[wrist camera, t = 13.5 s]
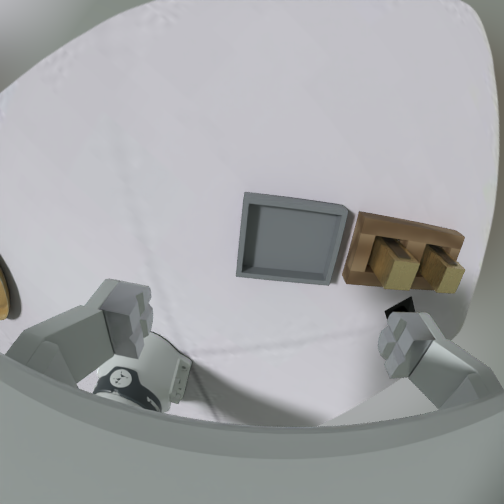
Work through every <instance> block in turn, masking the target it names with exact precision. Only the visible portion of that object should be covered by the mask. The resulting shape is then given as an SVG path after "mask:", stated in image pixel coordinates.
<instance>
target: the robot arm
mask: <svg viewBox="0 0 504 504" xmlns="http://www.w3.org/2000/svg"><path fill="white" fill-rule="evenodd" d="M150 299H151V289H150V288H149V286H145V285H140V284H135V283H130V282H125V281H119V280H114V279H105V280H104V282H103V283H102V284H101V285H100V287H99V288H98V289H97V290H96V292H95V293H94V294H93V295H92V297H91V298H90V299H89V300H88V302H87V303H86V304H85V306H82V305H80V306H77V307H75V308H73V309H70V310H68V311H66V312H64V313H61V314H59V315H57V316H55V317H52V318H50V319H48V320H46V321H43V322H41V323H39V324H37V325H34V326H32V327H30V328H28V329H26V330H24V331H23V332H22V333H21V334H20V336H19V337H18V338H17V340H16V341H15V342H14V343H13V345H12V346H11V347H10V349H9V350H8V351H7V353H6V354H5V355H4V354H2V353H0V504H504V389H503V388H502V386H501V384H500V383H499V381H498V379H497V378H496V376H495V374H494V373H493V371H492V369H491V368H490V367H488V366H487V365H485V364H484V363H483V362H481V361H480V360H478V359H477V358H475V357H474V356H472V355H471V354H470V353H468V352H467V351H465V350H464V349H462V348H461V347H459V346H458V345H457V344H455V343H454V342H452V341H451V340H449V339H447V340H446V338H445V337H444V335H443V334H442V332H441V331H440V329H439V328H438V326H437V325H436V323H435V322H434V321H433V319H432V318H431V316H430V315H429V314H428V313H426V312H392V313H391V314H390V315H389V317H388V319H387V324H388V326H387V327H386V328H385V329H383V330H382V332H381V334H380V336H379V340H378V350H379V353H380V355H381V356H382V357H383V358H384V359H385V360H386V361H385V364H384V365H385V367H386V370H387V372H388V375H389V377H390V378H404V377H409V379H410V380H411V381H412V382H413V383H414V384H415V385H416V386H417V387H418V388H419V390H421V391H422V392H423V394H425V396H426V397H427V398H428V399H429V400H430V401H431V402H432V403H433V404H434V405H435V406H436V407H437V408H438V409H439V410H438V411H434V412H429V413H425V414H420V415H415V416H410V417H405V418H400V419H393V420H387V421H379V422H372V423H363V424H353V425H341V426H322V427H271V426H253V425H240V424H230V423H221V422H213V421H206V420H199V419H193V418H187V417H181V416H176V415H171V414H166V413H164V412H167V411H169V409H170V406H171V402H172V403H176V404H179V401H180V400H182V398H183V396H184V392H185V388H186V384H187V380H188V376H189V372H190V368H191V364H192V362H191V360H190V359H188V358H187V357H185V356H184V355H182V354H180V353H178V352H177V351H176V350H175V349H174V348H173V347H172V345H170V344H169V343H168V342H167V341H166V340H164V339H163V338H161V337H160V336H158V335H156V334H154V333H152V332H150V331H151V328H152V323H153V308H152V307H151V306H150V304H149V301H150ZM98 367H99V368H98ZM97 368H98V371H97V376H98V378H99V380H98V382H97V384H96V385H95V387H94V391H93V394H92V393H89V392H87V391H84V390H81V389H79V388H78V386H77V383H78V382H79V381H81V380H82V379H83V378H85V377H86V376H87V375H89V374H90V373H91V372H93V371H94V370H96V369H97Z"/></svg>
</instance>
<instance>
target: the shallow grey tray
mask: <svg viewBox="0 0 504 504" xmlns="http://www.w3.org/2000/svg"><path fill="white" fill-rule="evenodd" d="M347 215H348V210H347V209H346V208H345V207H344V206H343V205H340V204H333V203H327V202H320V201H313V200H306V199H299V198H292V197H284V196H276V195H268V194H259V193H250V192H245V193H244V198H243V208H242V218H241V228H240V238H239V249H238V259H237V270H236V277H245V278H254V279H264V280H274V281H284V282H295V283H306V284H317V285H328V286H329V284H330V281H331V277H332V273H333V270H334V266H335V263H336V259H337V255H338V251H339V248H340V244H341V240H342V236H343V232H344V228H345V223H346V219H347Z"/></svg>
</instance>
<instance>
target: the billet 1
mask: <svg viewBox="0 0 504 504" xmlns="http://www.w3.org/2000/svg"><path fill="white" fill-rule="evenodd" d="M368 264H369V265H370V267H371V268H372V270H373V272H374V273H375V275H376V276H377V278H378V279H379V281H380V283H381V284H382V286H383V287H384V289H394V290H408V291H409V290H410V288H411V285H412V283H413V280H414V278H415V276H416V273H417V271H418V268H419V265H420V263H419V262H418V261H417V260H416V259H415V258H414V256H413V255H412V254H411V253H410V252H409V251H408V250H407V249H406V248H405V247H404V246H403V245H402V244H401V243H400V242H399V241H398V240H397V239H395V238H389V237H382V236H375V239H374V243H373V246H372V250H371V253H370V256H369V259H368Z"/></svg>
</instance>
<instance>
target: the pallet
mask: <svg viewBox="0 0 504 504" xmlns="http://www.w3.org/2000/svg"><path fill="white" fill-rule="evenodd" d="M375 236H382V237H389V238H395V239H400V240H399V242H400V243H401V244H402V245H403V246H404V247H405V248H406V249H407V250H408V251H409V252H410V253H411V254H412V255H413V256H414V258H415V259H416V260H417V261H418V262H419V263H420V260H421V258H422V255H423V252H424V249H425V247H426V244H432V245H437V246H442V248H443V249H444V250H445V251H446V252H447V253H448V254H449V255H450V256H452V257H453V258H454V259H455V260H457V257H458V255H459V252H460V250H461V247H462V244H463V241H464V238H465V237H464V236H463V235H462V234H460V233H459V232H458V231H455V230H451V229H447V228H442V227H438V226H433V225H429V224H424V223H419V222H414V221H409V220H404V219H399V218H394V217H388V216H383V215H377V214H372V213H366V212H360V211H359V214H358V218H357V222H356V226H355V230H354V234H353V237H352V241H351V245H350V249H349V252H348V256H347V259H346V263H345V266H344V270H343V273H342V276H343V278H344V280H345V282H346V284H353V285H365V286H378V287H383V286H382V284H381V283H380V281H379V279H378V278H377V276H376V275H375V273H374V272H373V270H372V268H371V267H370V265H369V264H367V262H368V259H369V256H370V253H371V250H372V246H373V243H374V239H375ZM410 289H421V290H434V289H433V288H432V286H431V285H430V284H429V283H428V282H427V280H426V279H425V278H424V277H423V276H422V274H421V273H420V272H419V271H417V273H416V276H415V278H414V280H413V283H412V285H411V288H410Z"/></svg>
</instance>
